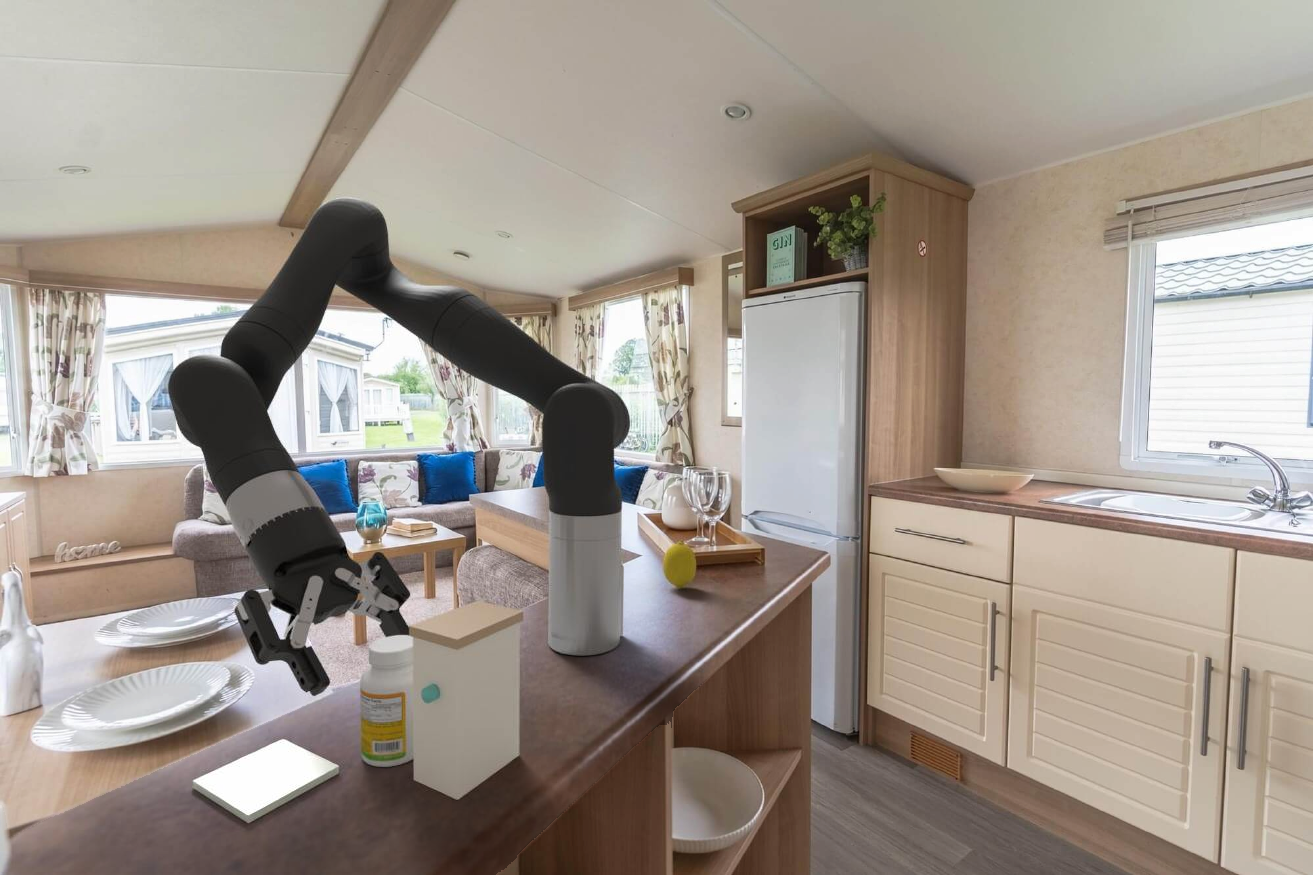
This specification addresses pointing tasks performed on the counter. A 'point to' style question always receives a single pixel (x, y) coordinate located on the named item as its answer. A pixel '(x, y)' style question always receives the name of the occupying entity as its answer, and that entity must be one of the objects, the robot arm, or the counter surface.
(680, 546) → the lemon
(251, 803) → the plate
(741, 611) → the counter surface
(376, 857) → the counter surface
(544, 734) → the counter surface
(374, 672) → the supplement bottle
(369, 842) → the counter surface
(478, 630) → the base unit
